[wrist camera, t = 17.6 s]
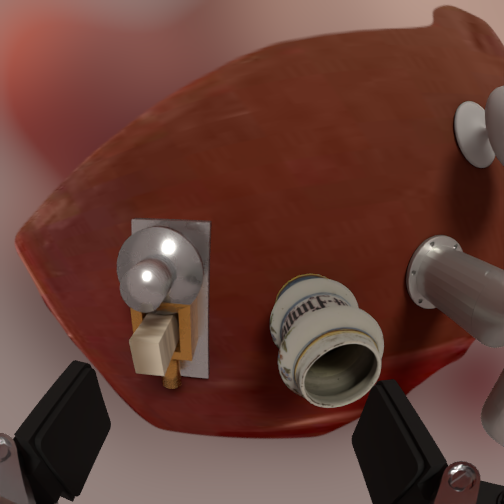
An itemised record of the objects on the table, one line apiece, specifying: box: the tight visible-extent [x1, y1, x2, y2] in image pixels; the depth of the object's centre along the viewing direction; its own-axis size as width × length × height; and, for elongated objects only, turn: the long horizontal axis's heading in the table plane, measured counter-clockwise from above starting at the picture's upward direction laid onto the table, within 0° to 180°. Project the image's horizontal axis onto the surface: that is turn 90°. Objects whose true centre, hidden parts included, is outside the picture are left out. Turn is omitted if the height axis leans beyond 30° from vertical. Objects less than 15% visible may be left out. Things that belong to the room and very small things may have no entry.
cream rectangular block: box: [129, 312, 180, 376], centre depth 35 cm, size 4×4×12 cm
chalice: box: [454, 86, 504, 168], centre depth 28 cm, size 14×14×15 cm
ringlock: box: [117, 218, 211, 389], centre depth 36 cm, size 11×25×13 cm, turn 176°
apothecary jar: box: [270, 274, 384, 408], centre depth 34 cm, size 12×12×18 cm
